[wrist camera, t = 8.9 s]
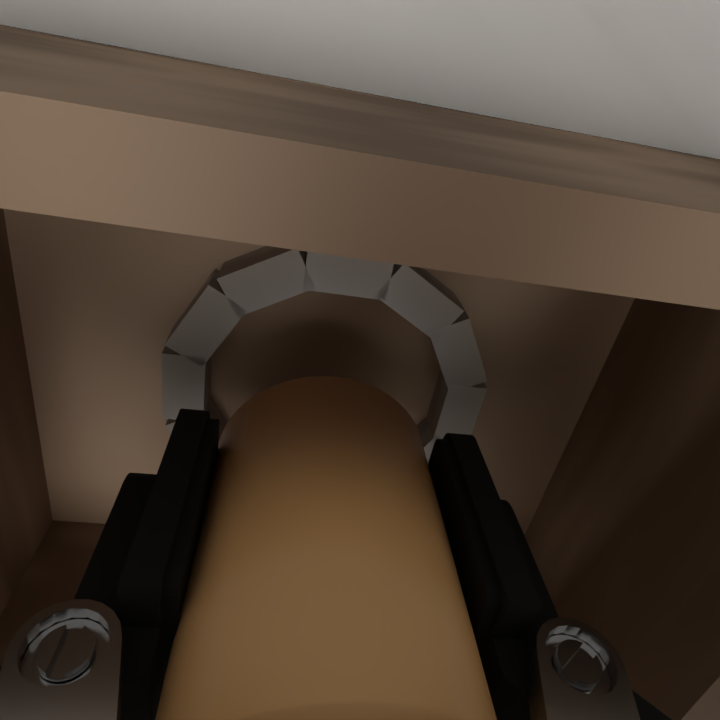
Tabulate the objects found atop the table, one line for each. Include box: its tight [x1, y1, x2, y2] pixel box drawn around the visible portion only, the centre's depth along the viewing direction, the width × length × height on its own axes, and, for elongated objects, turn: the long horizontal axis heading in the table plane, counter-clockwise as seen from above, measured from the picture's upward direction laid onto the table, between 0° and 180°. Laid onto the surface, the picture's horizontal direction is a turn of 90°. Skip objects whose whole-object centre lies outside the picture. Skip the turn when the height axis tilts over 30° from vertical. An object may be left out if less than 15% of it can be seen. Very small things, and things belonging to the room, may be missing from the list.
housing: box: [0, 25, 720, 720], centre depth 12 cm, size 17×14×8 cm
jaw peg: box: [155, 376, 497, 720], centre depth 9 cm, size 4×4×6 cm
